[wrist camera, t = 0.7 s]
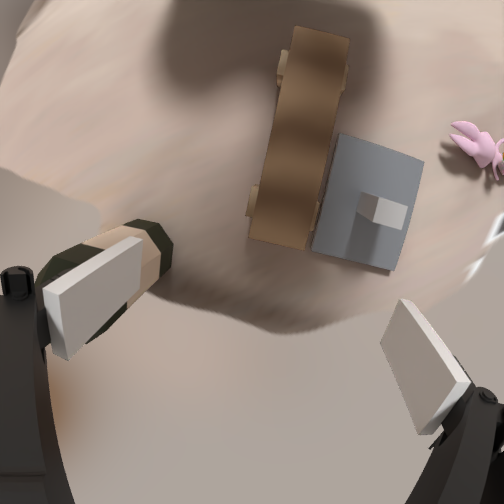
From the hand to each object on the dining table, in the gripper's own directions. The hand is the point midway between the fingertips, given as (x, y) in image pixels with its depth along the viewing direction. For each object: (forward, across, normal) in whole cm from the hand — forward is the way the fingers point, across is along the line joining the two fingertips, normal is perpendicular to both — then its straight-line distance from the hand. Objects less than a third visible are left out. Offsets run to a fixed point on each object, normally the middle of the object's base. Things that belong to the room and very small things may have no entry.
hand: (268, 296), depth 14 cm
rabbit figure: (+23, +25, +16) cm, 38 cm away
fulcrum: (+22, +10, +4) cm, 25 cm away
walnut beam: (+17, 0, +9) cm, 19 cm away
